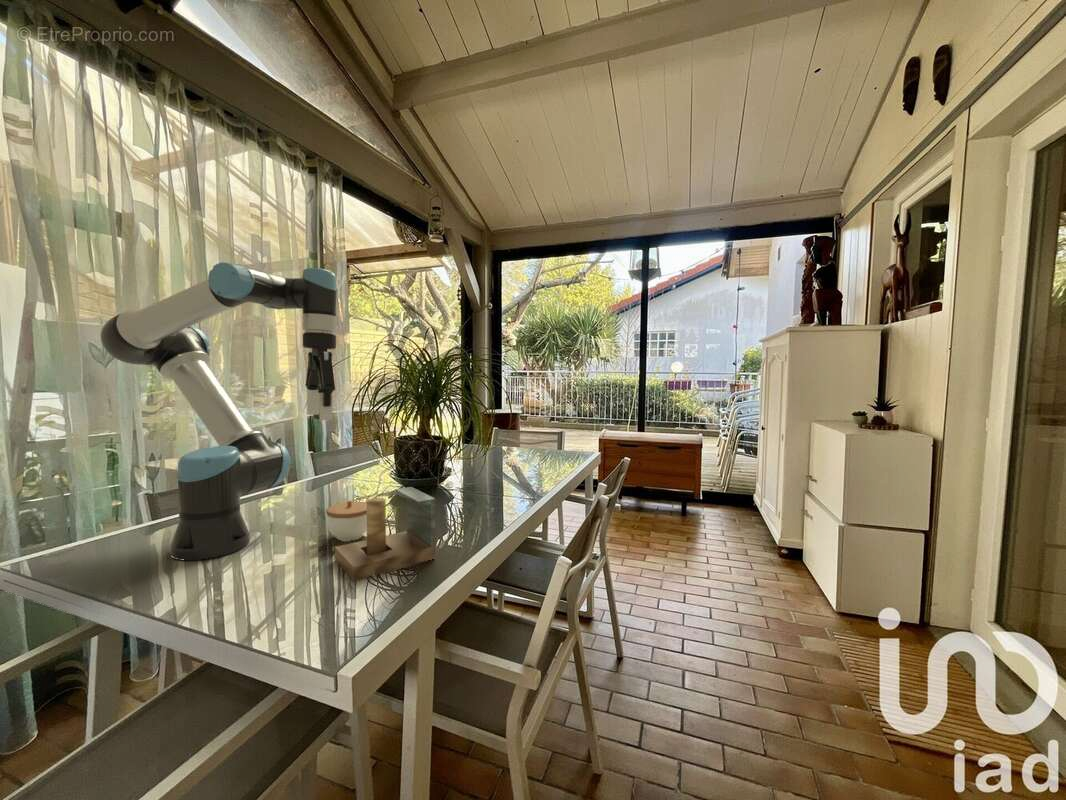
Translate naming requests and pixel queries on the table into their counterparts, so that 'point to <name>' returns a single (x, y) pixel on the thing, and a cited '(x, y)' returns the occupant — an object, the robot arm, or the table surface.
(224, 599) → the table surface
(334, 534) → the lidded jar
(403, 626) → the table surface
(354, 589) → the table surface
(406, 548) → the socket block
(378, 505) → the oak peg
